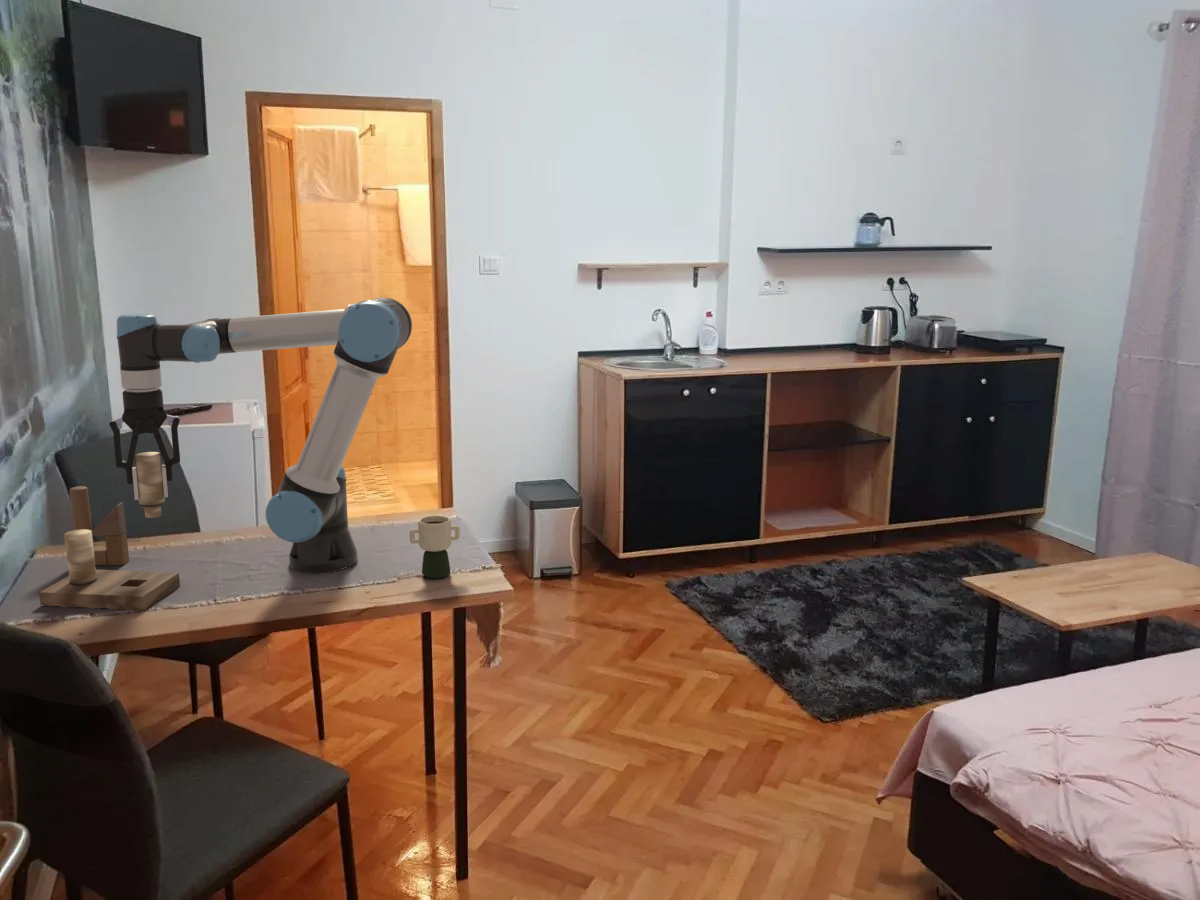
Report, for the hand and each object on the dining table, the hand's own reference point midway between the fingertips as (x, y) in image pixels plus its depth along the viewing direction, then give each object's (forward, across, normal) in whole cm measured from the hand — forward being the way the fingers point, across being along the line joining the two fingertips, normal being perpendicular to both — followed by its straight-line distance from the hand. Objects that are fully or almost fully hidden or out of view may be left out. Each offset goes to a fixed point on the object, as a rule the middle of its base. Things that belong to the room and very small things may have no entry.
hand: (151, 496), depth 205 cm
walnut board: (+19, +9, +5) cm, 22 cm away
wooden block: (+20, +12, -18) cm, 29 cm away
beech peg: (+4, 0, 0) cm, 4 cm away
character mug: (+19, -56, +21) cm, 63 cm away
